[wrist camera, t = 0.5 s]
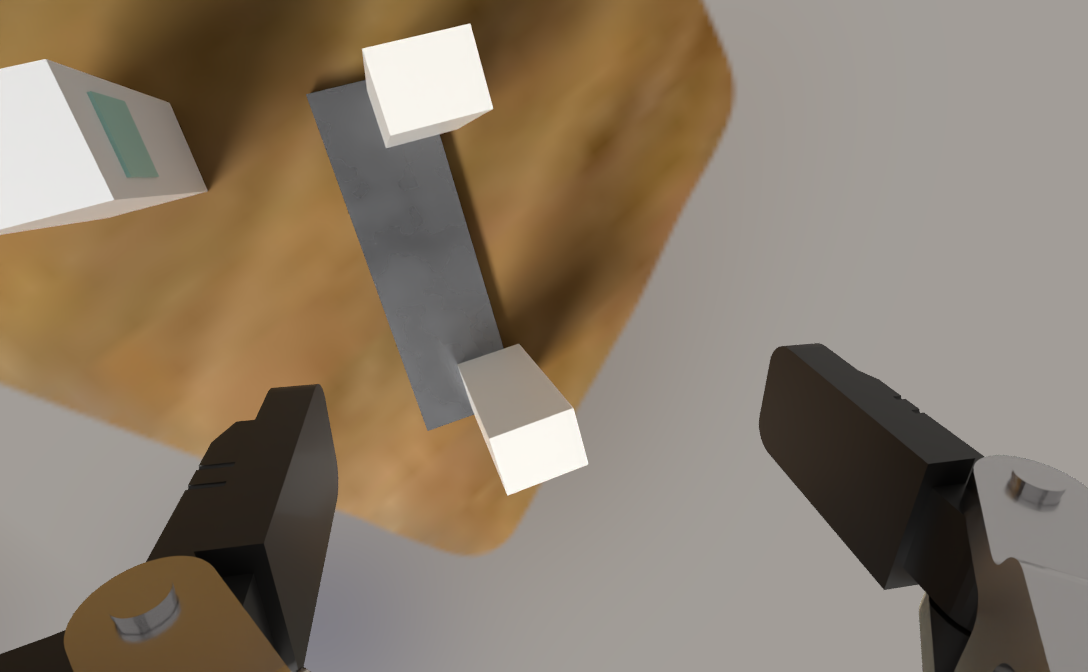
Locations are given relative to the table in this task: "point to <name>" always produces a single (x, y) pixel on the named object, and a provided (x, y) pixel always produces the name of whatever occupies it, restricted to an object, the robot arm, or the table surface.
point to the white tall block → (85, 149)
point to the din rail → (411, 248)
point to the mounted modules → (508, 374)
